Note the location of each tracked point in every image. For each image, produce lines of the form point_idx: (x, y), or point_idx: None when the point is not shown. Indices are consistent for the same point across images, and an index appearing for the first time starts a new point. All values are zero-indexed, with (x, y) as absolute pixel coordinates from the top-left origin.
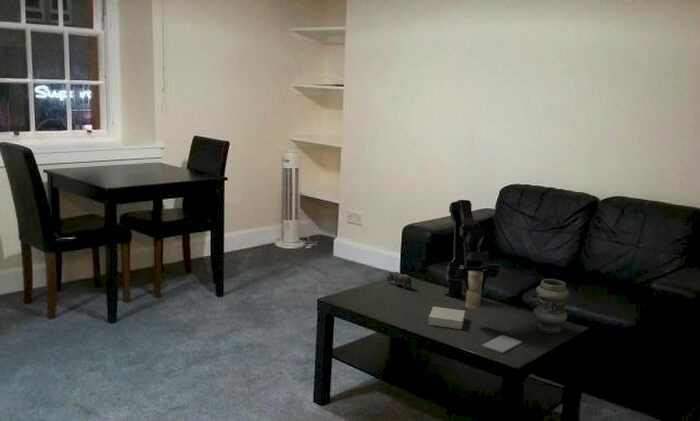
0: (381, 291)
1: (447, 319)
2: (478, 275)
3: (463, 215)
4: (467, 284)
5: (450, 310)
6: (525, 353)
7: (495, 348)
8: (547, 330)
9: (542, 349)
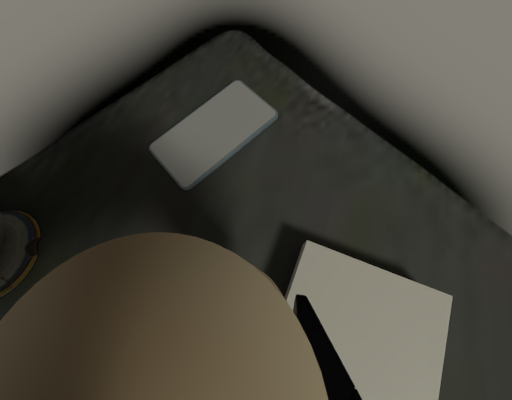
0: None
1: (366, 263)
2: (158, 238)
3: None
4: (303, 329)
5: None
6: (179, 87)
7: (246, 96)
8: (17, 220)
9: (122, 109)
